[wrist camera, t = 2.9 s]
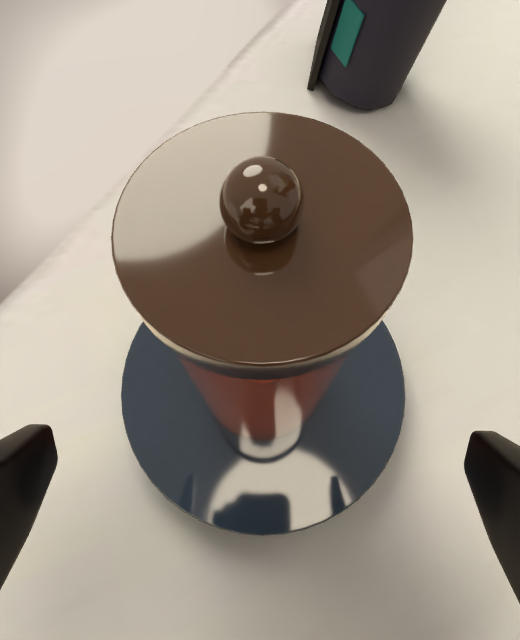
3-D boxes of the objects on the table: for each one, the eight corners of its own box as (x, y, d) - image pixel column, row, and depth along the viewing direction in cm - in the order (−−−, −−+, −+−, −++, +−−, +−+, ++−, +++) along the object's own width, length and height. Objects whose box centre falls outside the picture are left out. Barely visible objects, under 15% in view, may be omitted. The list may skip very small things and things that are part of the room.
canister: (288, 472, 18) (342, 417, 6) (171, 400, 19) (4, 225, 7) (350, 355, 20) (492, 122, 8) (241, 297, 21) (209, 14, 9)
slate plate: (320, 598, 17) (324, 606, 16) (73, 433, 20) (60, 429, 19) (437, 340, 22) (448, 330, 20) (222, 232, 24) (219, 217, 23)
